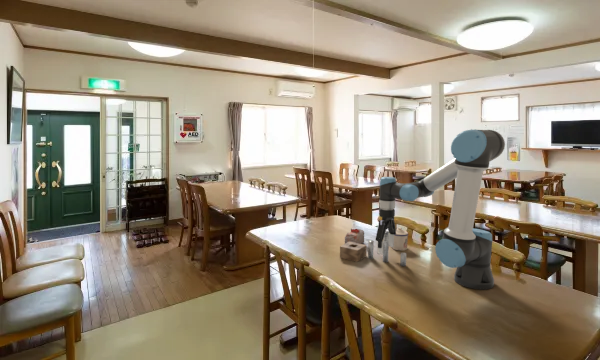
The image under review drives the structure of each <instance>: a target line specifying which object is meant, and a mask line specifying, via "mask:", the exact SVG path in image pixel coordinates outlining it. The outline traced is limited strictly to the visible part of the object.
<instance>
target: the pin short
mask: <svg viewBox="0 0 600 360" xmlns="http://www.w3.org/2000/svg"><path fill="white" fill-rule="evenodd" d="M406 265H407V252H403V251H402V252H400V266H401V267H407V266H406Z"/></svg>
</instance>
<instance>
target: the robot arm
mask: <svg viewBox="0 0 600 360" xmlns="http://www.w3.org/2000/svg"><path fill="white" fill-rule="evenodd" d="M505 143H506V141H505V139H504V137H503V135H502V134H500V132H498V131H496V130H493V129H472V128H471V129H467V130H463V131H461V132H459V133H458V134H457V135H456V136H455V137H454V138H453V140H452V142H451V146H450V152H451V154H452V155H453V159H452V160H450V161H449V162H447V163H446V164H444V165H442V166H441V167H439V168H438V169H436V170H435V171H433V172H432V173H430V174H428V175H427V176H425V177H424V178H422V179H421V180H419V181H416V182H406V183H402V182H397V178H395V177H393V176H383V177H381V178H380V179H379V197H378V198H379V200H378V203H379V205H378V206H379V209H378V216H379V217H380V218H381V220H380V219H379V220H378V226H377V229H376V230H377V231H376V236H375V241H376V242H377V247H376V248H377V252H376V253H377V254H378V255H382V256H383V246H384V241H383V238H384V235H385V232H389V247H391V248H392V247H394V234H396V229H397V228H396V224H395V216H396V214H395V212H396V210H395V208H396V200H402V201H406V202H414V201H415V200H417V199H419V198H427V197H431V196H432V195H433V194H434V193H435V191H437V190H438V189H440V188H442V187H443V186H445V185H447V184H448V183H451V182H452V181H454V180H455V186H454V191H453V192H454V193H453V199H452V203H451V210H450V217H449V223H448V226H447V227H446V228H444V229H443V234H442V238H441V239H439V240H438V241H437V242H436V244H435V248H434V249H435V254H436V257H437V258H438V259H439V261H440V262H441V264H443V265H444V266H446V267H448V268H450V269H451V268H452V269H455V268H456V270H455V271H454V273H453V275H454V277H453V278H454V279H453V280H454V281H455V283H457V284H459V285H460V286H463V287H465V288H469V289H474V290H490V289H493V288H494V286H495V279H494V275H493V272H492V268H491V263H492V262H491V260H492V251H493V250H492V249H493V248H492V247H493V243H494V241H493V234H492V233H491V232H490V231H487V230H484V229H479V228H474V224H475V219H476V214H477V213H476V212H477V209H478V202H479V196H480V191H481V185H482V181H483V174H484V172H485V171H486V170H487V169H489V167H490V163H491V161H493V160H495V159H497V158H499V156H501V155H502V154H503V152H504V150H505V146H506V144H505Z"/></svg>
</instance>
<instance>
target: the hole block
mask: <svg viewBox="0 0 600 360" xmlns="http://www.w3.org/2000/svg"><path fill="white" fill-rule="evenodd" d="M365 257H367V244H364V243H362V244H359V243H354V242H348V243H346V244H345V243H343V244H342V245H341V246H339V258H340V259H345V260H348V261H352V262H355V263H358V262H359V261H361V260H363V259H364V258H365Z"/></svg>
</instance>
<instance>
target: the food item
mask: <svg viewBox="0 0 600 360" xmlns="http://www.w3.org/2000/svg"><path fill="white" fill-rule="evenodd" d="M348 242H354V243H359V244H364V243H365V231H364V230H363V229H360V228H355V229H352V228H350V232H347V233H346V234H345V236H344V244H346V243H348Z"/></svg>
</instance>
